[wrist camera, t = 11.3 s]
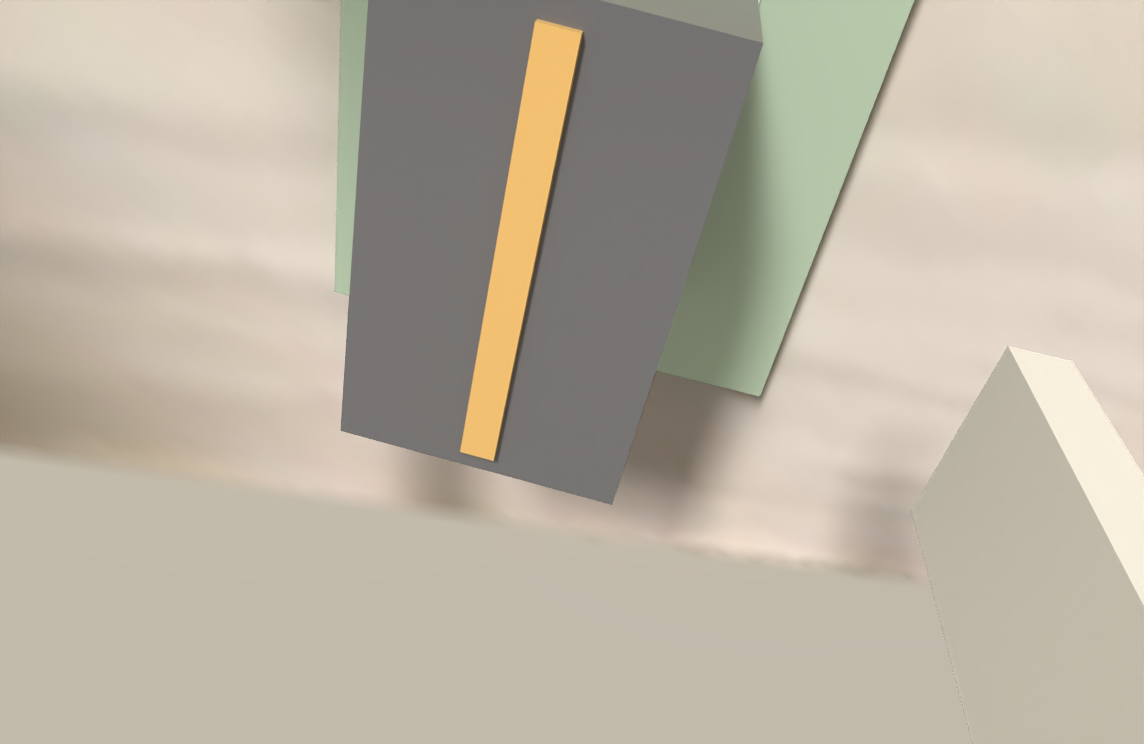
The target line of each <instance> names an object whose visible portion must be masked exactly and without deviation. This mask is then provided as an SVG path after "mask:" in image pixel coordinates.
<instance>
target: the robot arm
mask: <svg viewBox="0 0 1144 744" xmlns="http://www.w3.org/2000/svg"><path fill="white" fill-rule="evenodd" d="M911 513H912V516H913V520H914V524H915V528H916V532H917V535H918V539H919V543H920V547H921V550H922V554H923V558H924V562H925V566H926V569H927V573H928V577H929V581H930V585H931V588H932V592H933V595H934V600H935V603H936V607H937V611H938V615H939V619H940V622H941V626H942V630H943V634H944V638H945V641H946V645H947V649H948V653H949V656H950V660H951V664H952V668H953V671H954V675H955V679H956V683H957V686H958V690H959V694H960V698H961V702H962V706H963V709H964V713H965V717H966V721H967V725H968V728H969V732H970V736H971V740H972V744H1144V475H1143V474H1142V472H1141V470H1140V469H1139V467H1138V466H1137V464H1136V462H1135V461H1134V459H1133V457H1132V456H1131V454H1130V453H1129V451H1128V449H1127V448H1126V446H1125V445H1124V443H1123V441H1122V440H1121V438H1120V437H1119V435H1118V433H1117V432H1116V430H1115V429H1114V427H1113V425H1112V424H1111V422H1110V421H1109V419H1108V417H1107V416H1106V414H1105V413H1104V411H1103V409H1102V408H1101V406H1100V405H1099V403H1098V401H1097V400H1096V398H1095V397H1094V395H1093V393H1092V392H1091V390H1090V388H1089V387H1088V385H1087V384H1086V382H1085V380H1084V379H1083V377H1082V376H1081V374H1080V372H1079V371H1078V369H1077V368H1076V366H1075V364H1074V363H1073V361H1070V360H1066V359H1062V358H1058V357H1053V356H1049V355H1045V354H1041V353H1036V352H1032V351H1028V350H1023V349H1019V348H1015V347H1011V346H1008V347H1007V348H1006V350H1005V352H1004V354H1003V355H1002V357H1001V359H1000V360H999V362H998V364H997V365H996V367H995V369H994V371H993V372H992V374H991V376H990V377H989V379H988V381H987V382H986V384H985V386H984V388H983V389H982V391H981V393H980V394H979V396H978V398H977V399H976V401H975V403H974V405H973V406H972V408H971V410H970V411H969V413H968V415H967V416H966V418H965V420H964V422H963V423H962V425H961V427H960V428H959V430H958V432H957V433H956V435H955V437H954V439H953V440H952V442H951V444H950V445H949V447H948V449H947V450H946V452H945V454H944V456H943V457H942V459H941V461H940V462H939V464H938V466H937V467H936V469H935V471H934V473H933V474H932V476H931V478H930V479H929V481H928V483H927V484H926V486H925V488H924V490H923V491H922V493H921V495H920V496H919V498H918V500H917V501H916V503H915V505H914V507H913V508H912V510H911Z"/></svg>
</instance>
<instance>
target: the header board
mask: <svg viewBox="0 0 1144 744" xmlns="http://www.w3.org/2000/svg"><path fill="white" fill-rule="evenodd" d="M913 3H914V0H758V4H759V12H760V19H761V27H762V35H763V46H762V49H761V52H760V55H759V58H758V61H757V64H756V67H755V70H754V73H753V76H752V79H751V83H750V86H749V89H748V92H747V95H746V98H745V101H744V104H743V107H742V110H741V113H740V116H739V119H738V122H737V125H736V128H735V131H734V134H733V137H732V140H731V143H730V146H729V150H728V153H727V156H726V159H725V162H724V165H723V168H722V171H721V174H720V177H719V180H718V183H717V186H716V189H715V192H714V195H713V198H712V201H711V204H710V207H709V210H708V214H707V217H706V220H705V223H704V226H703V229H702V232H701V235H700V238H699V241H698V244H697V247H696V250H695V253H694V256H693V259H692V262H691V265H690V268H689V271H688V274H687V277H686V281H685V284H684V287H683V290H682V293H681V296H680V299H679V302H678V305H677V308H676V311H675V314H674V317H673V320H672V323H671V326H670V329H669V332H668V335H667V338H666V341H665V345H664V348H663V351H662V354H661V357H660V360H659V363H658V366H657V369H656V371H658V372H662V373H666V374H670V375H674V376H678V377H682V378H686V379H690V380H695V381H699V382H703V383H707V384H711V385H715V386H719V387H723V388H727V389H731V390H735V391H739V392H743V393H747V394H751V395H755V396H760V395H761V392H762V390H763V387H764V385H765V382H766V380H767V377H768V375H769V372H770V369H771V367H772V364H773V362H774V359H775V357H776V354H777V351H778V349H779V346H780V344H781V341H782V339H783V336H784V333H785V331H786V328H787V326H788V323H789V321H790V318H791V316H792V313H793V310H794V308H795V305H796V303H797V300H798V298H799V295H800V292H801V290H802V287H803V285H804V282H805V280H806V277H807V274H808V272H809V269H810V267H811V264H812V262H813V259H814V256H815V254H816V251H817V249H818V246H819V244H820V241H821V239H822V236H823V233H824V231H825V228H826V226H827V223H828V221H829V218H830V215H831V213H832V210H833V208H834V205H835V203H836V200H837V197H838V195H839V192H840V190H841V187H842V185H843V182H844V180H845V177H846V174H847V172H848V169H849V167H850V164H851V162H852V159H853V156H854V154H855V151H856V149H857V146H858V144H859V141H860V138H861V136H862V133H863V131H864V128H865V126H866V123H867V121H868V118H869V115H870V113H871V110H872V108H873V105H874V103H875V100H876V97H877V95H878V92H879V90H880V87H881V85H882V82H883V79H884V77H885V74H886V72H887V69H888V67H889V64H890V62H891V59H892V56H893V54H894V51H895V49H896V46H897V44H898V41H899V38H900V36H901V33H902V31H903V28H904V26H905V23H906V20H907V18H908V15H909V13H910V10H911V8H912V5H913ZM367 10H368V0H341V30H340V75H339V120H338V165H337V210H336V255H335V292H337V293H341V294H345V295H349V292H350V277H351V261H352V245H353V230H354V214H355V198H356V183H357V167H358V151H359V136H360V120H361V104H362V89H363V73H364V57H365V42H366V26H367Z"/></svg>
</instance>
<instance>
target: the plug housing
mask: <svg viewBox="0 0 1144 744" xmlns="http://www.w3.org/2000/svg"><path fill="white" fill-rule="evenodd" d="M762 46H763V35H762V27H761V19H760V12H759V4H758V0H368V10H367V26H366V42H365V57H364V73H363V89H362V104H361V120H360V136H359V151H358V167H357V183H356V198H355V214H354V230H353V245H352V261H351V277H350V292H349V308H348V324H347V339H346V355H345V371H344V386H343V402H342V418H341V431H344V432H347V433H351V434H355V435H358V436H362V437H366V438H369V439H373V440H377V441H380V442H384V443H388V444H391V445H395V446H399V447H402V448H406V449H410V450H413V451H417V452H421V453H424V454H428V455H432V456H435V457H439V458H443V459H446V460H450V461H454V462H457V463H461V464H465V465H468V466H472V467H476V468H479V469H483V470H487V471H490V472H494V473H498V474H501V475H505V476H509V477H512V478H516V479H520V480H523V481H527V482H531V483H534V484H538V485H542V486H545V487H549V488H553V489H556V490H560V491H564V492H567V493H571V494H575V495H578V496H582V497H586V498H589V499H593V500H597V501H600V502H604V503H608V504H612V503H613V500H614V497H615V494H616V491H617V488H618V485H619V482H620V479H621V476H622V472H623V469H624V466H625V463H626V460H627V457H628V454H629V451H630V448H631V445H632V442H633V439H634V436H635V433H636V430H637V427H638V424H639V421H640V418H641V415H642V412H643V408H644V405H645V402H646V399H647V396H648V393H649V390H650V387H651V384H652V381H653V378H654V375H655V372H656V369H657V366H658V363H659V360H660V357H661V354H662V351H663V348H664V345H665V341H666V338H667V335H668V332H669V329H670V326H671V323H672V320H673V317H674V314H675V311H676V308H677V305H678V302H679V299H680V296H681V293H682V290H683V287H684V284H685V281H686V277H687V274H688V271H689V268H690V265H691V262H692V259H693V256H694V253H695V250H696V247H697V244H698V241H699V238H700V235H701V232H702V229H703V226H704V223H705V220H706V217H707V214H708V210H709V207H710V204H711V201H712V198H713V195H714V192H715V189H716V186H717V183H718V180H719V177H720V174H721V171H722V168H723V165H724V162H725V159H726V156H727V153H728V150H729V146H730V143H731V140H732V137H733V134H734V131H735V128H736V125H737V122H738V119H739V116H740V113H741V110H742V107H743V104H744V101H745V98H746V95H747V92H748V89H749V86H750V83H751V79H752V76H753V73H754V70H755V67H756V64H757V61H758V58H759V55H760V52H761V49H762Z"/></svg>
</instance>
